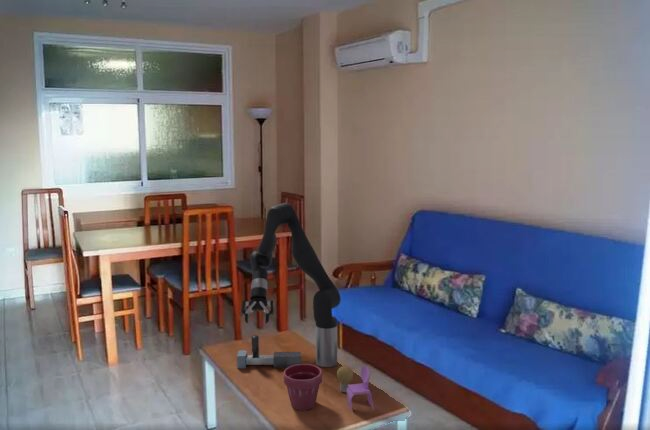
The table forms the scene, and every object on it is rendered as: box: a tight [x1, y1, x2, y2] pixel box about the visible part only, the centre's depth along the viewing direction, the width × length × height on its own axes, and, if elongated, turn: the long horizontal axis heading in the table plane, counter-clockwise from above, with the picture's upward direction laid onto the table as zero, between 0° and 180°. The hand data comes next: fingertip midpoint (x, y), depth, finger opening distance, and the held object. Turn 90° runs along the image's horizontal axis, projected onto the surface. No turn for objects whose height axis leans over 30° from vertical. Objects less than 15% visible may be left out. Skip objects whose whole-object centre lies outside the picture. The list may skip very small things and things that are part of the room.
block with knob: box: [246, 334, 274, 366], centre depth 237 cm, size 18×3×12 cm, turn 90°
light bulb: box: [336, 365, 354, 393], centre depth 214 cm, size 6×6×10 cm
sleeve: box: [273, 351, 302, 369], centre depth 238 cm, size 12×5×5 cm, turn 90°
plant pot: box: [283, 363, 323, 411], centre depth 204 cm, size 14×14×13 cm
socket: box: [236, 349, 248, 369], centre depth 238 cm, size 4×6×6 cm, turn 0°
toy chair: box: [346, 365, 375, 412], centre depth 202 cm, size 8×9×15 cm
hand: (256, 322), depth 245 cm, fingers open, 8 cm apart
